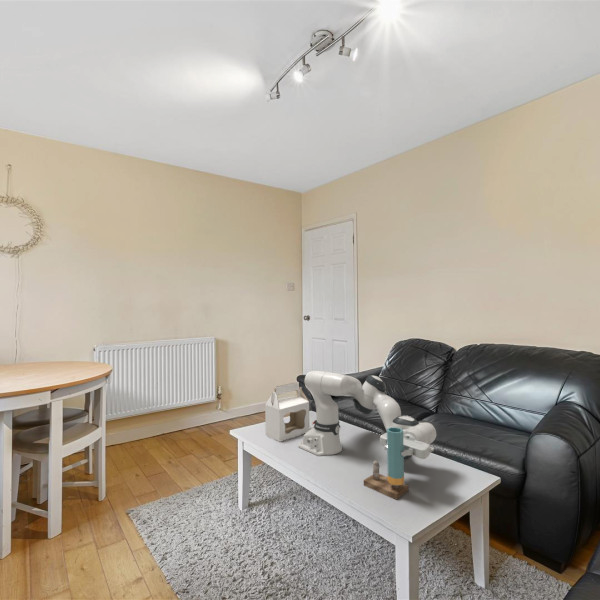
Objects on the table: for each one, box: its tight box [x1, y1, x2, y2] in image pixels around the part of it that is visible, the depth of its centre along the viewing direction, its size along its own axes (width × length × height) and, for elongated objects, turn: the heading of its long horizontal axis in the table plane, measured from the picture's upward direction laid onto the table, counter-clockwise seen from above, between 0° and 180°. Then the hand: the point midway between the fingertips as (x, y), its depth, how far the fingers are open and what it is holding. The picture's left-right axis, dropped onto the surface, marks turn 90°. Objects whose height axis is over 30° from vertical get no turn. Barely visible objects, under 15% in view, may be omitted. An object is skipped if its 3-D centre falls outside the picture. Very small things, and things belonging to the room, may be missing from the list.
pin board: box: [363, 460, 409, 501], centre depth 141 cm, size 15×9×9 cm, turn 43°
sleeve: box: [386, 427, 405, 485], centre depth 138 cm, size 6×6×20 cm
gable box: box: [264, 381, 310, 443], centre depth 201 cm, size 22×13×28 cm, turn 131°
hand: (394, 451), depth 137 cm, fingers closed on sleeve, 6 cm apart
